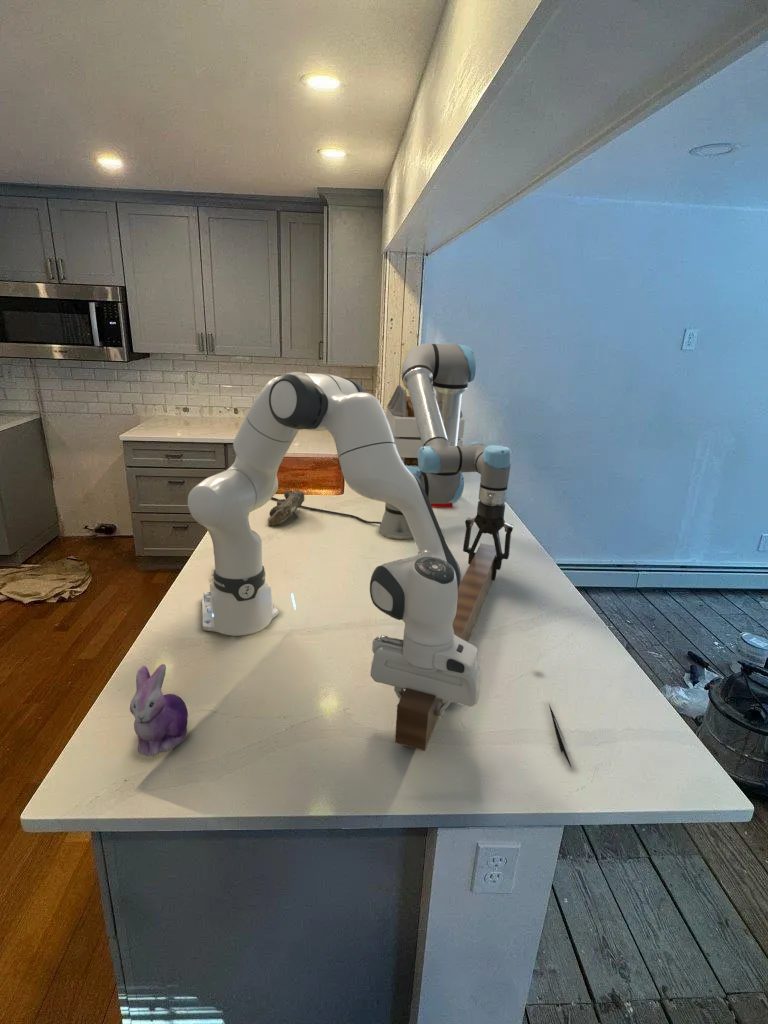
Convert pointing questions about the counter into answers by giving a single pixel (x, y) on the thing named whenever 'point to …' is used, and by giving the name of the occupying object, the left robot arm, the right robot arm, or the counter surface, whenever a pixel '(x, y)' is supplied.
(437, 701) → the bar
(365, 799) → the counter surface
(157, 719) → the figurine
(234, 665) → the counter surface
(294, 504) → the fossil
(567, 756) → the feather
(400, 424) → the transformer
